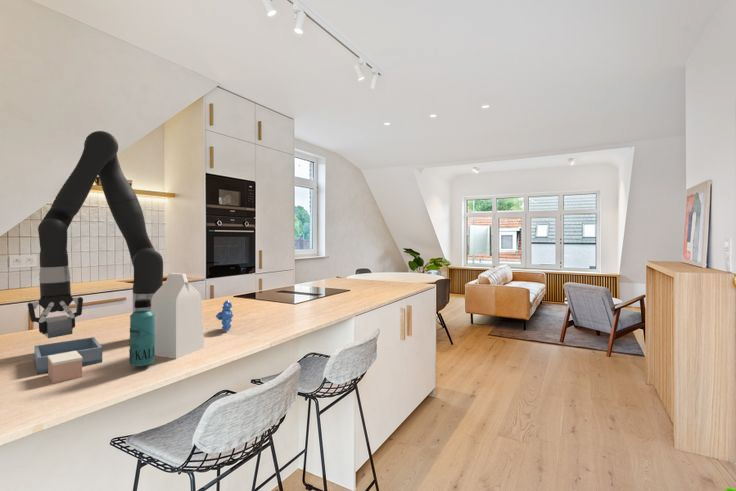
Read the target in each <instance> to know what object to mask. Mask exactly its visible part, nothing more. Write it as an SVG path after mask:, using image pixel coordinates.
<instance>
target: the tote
mask: <svg viewBox="0 0 736 491" xmlns="http://www.w3.org/2000/svg"><path fill="white" fill-rule="evenodd" d="M33 349H34V354H33V355H34V364H35V367H36V368H35V369H36V373H37V375H42V374H46V373H47V374H48V356H49V355H54V354H60V353H66V352H71V351H77V352H78V353H79V354H80V355H81V356H82V357H83V360H82V367H83V366H88V365H94V364H99V363H103V346H102V345H101V344H100V342H99V341H98V340H97V339H96V338H95V337H92V336H91V337H84V338H79V339H73V340H66V341H65V340H64V341H60V342H53V343H52V342H51V343H45V344H38V345H34V348H33Z"/></svg>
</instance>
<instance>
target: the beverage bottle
mask: <svg viewBox="0 0 736 491" xmlns="http://www.w3.org/2000/svg"><path fill="white" fill-rule="evenodd" d="M134 307H135V308H147V307H151V301H150V299H140V300H136V301H135V305H134ZM129 320H130V321H129V328H128V329H129V349H128V352H129V353H128V356H129V357H128V359H129V360H128V362H129V364H130V365H131V367H132V366H133V367H141V366H147V365H150V364H152V363H154V362H155V358H156V356H155V314H154V313H153V312H152V311H151V310H139V311H135V312H133V311H132V313H131V314H130V315H129Z"/></svg>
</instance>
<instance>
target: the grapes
mask: <svg viewBox="0 0 736 491" xmlns="http://www.w3.org/2000/svg"><path fill="white" fill-rule="evenodd" d="M222 305H223V306H222V307H221V308H222V309H221V311H220V312H217V313H216V315H215V317H216V319H217V320H218V321H220V322H221V325H222V327H221V328H222V330H223V331H224V332H228V331H229V330H230V329H231V327H232V324H231V322H232V321H233V319H232V318H233V317H234V313H233V311H232V310H231V308H232V307H233V305H232V302H231V301H230V300H224V302H223V304H222Z"/></svg>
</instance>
